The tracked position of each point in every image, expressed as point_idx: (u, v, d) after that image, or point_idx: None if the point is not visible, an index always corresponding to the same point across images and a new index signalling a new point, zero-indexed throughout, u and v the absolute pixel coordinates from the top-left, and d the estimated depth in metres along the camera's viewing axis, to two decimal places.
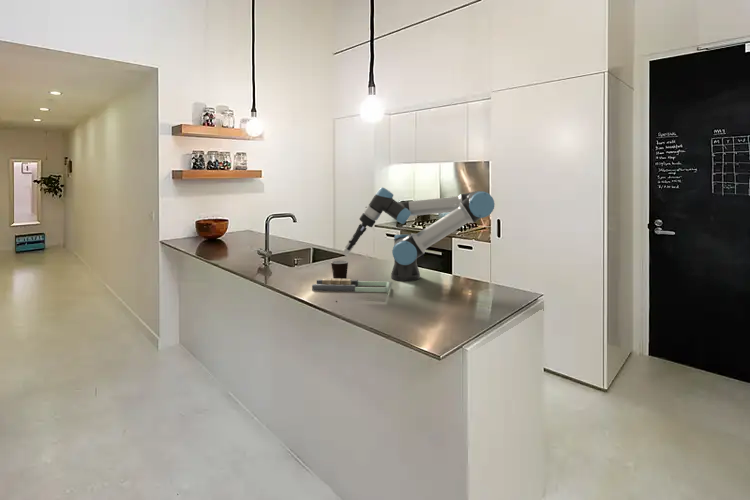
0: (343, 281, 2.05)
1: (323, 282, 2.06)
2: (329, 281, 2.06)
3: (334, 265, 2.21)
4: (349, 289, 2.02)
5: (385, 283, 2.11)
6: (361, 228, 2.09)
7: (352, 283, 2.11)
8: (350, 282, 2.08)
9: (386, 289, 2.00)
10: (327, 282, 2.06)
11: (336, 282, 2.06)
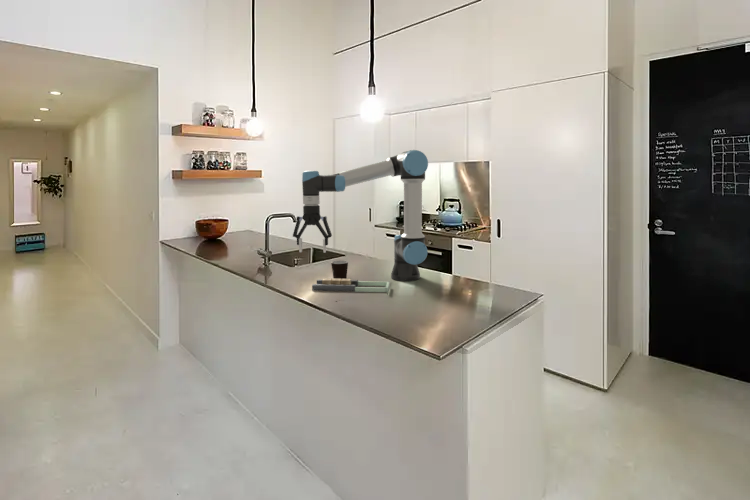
0: (343, 281, 2.05)
1: (323, 282, 2.06)
2: (329, 281, 2.06)
3: (334, 265, 2.21)
4: (349, 289, 2.02)
5: (385, 283, 2.11)
6: (326, 219, 2.03)
7: (352, 283, 2.11)
8: (350, 282, 2.08)
9: (386, 289, 2.00)
10: (327, 282, 2.06)
11: (336, 282, 2.06)
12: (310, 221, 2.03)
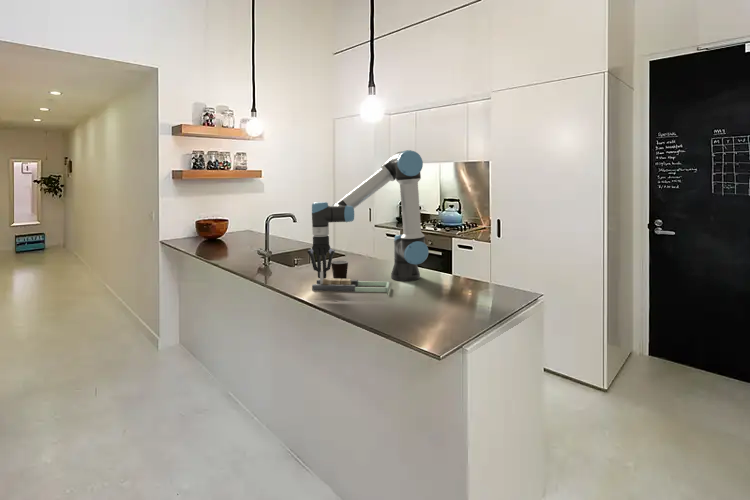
0: (343, 281, 2.05)
1: (324, 282, 2.06)
2: (330, 281, 2.06)
3: (334, 265, 2.21)
4: (349, 289, 2.02)
5: (385, 283, 2.11)
6: (333, 253, 2.05)
7: (352, 283, 2.11)
8: (350, 282, 2.08)
9: (386, 289, 2.00)
10: (328, 282, 2.06)
11: (336, 282, 2.06)
12: (320, 251, 2.05)
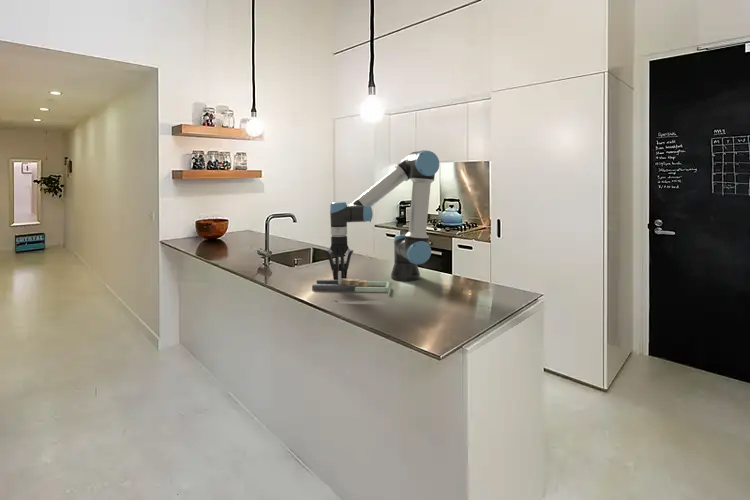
0: (360, 282, 2.05)
1: (342, 282, 2.05)
2: (348, 281, 2.05)
3: None
4: (349, 289, 2.02)
5: (385, 283, 2.11)
6: (351, 253, 2.04)
7: None
8: (367, 283, 2.07)
9: (386, 289, 2.00)
10: (346, 282, 2.05)
11: (354, 282, 2.05)
12: (338, 251, 2.04)
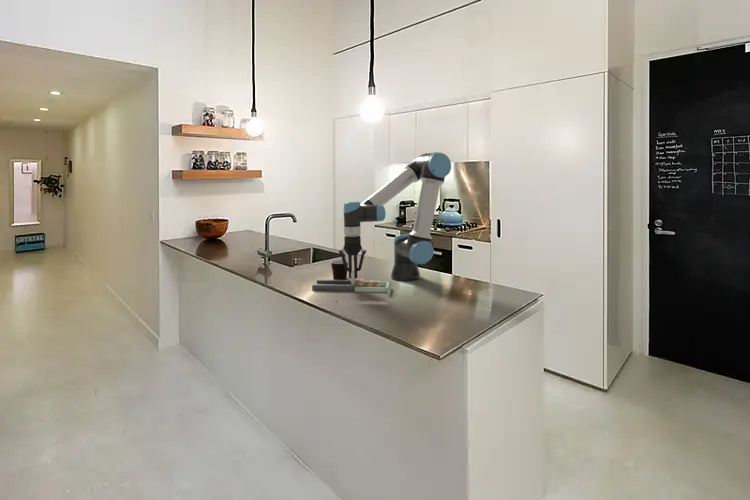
0: (373, 283, 2.04)
1: (355, 283, 2.05)
2: (361, 282, 2.04)
3: (334, 265, 2.21)
4: (349, 289, 2.02)
5: (385, 283, 2.11)
6: None
7: None
8: (380, 284, 2.06)
9: (386, 289, 2.00)
10: (359, 283, 2.04)
11: (367, 284, 2.04)
12: (351, 251, 2.03)
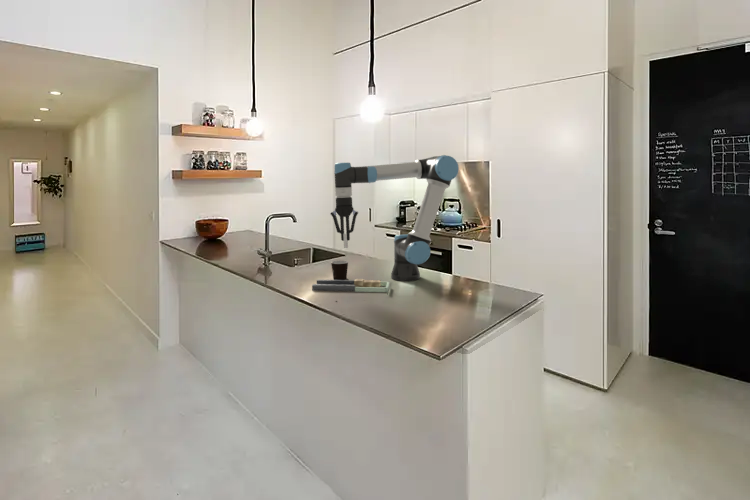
0: (373, 283, 2.04)
1: (355, 283, 2.05)
2: (361, 282, 2.04)
3: (334, 265, 2.21)
4: (349, 289, 2.02)
5: (385, 283, 2.11)
6: None
7: (352, 283, 2.11)
8: (380, 284, 2.06)
9: (386, 289, 2.00)
10: (359, 283, 2.04)
11: (367, 284, 2.04)
12: (343, 213, 2.03)
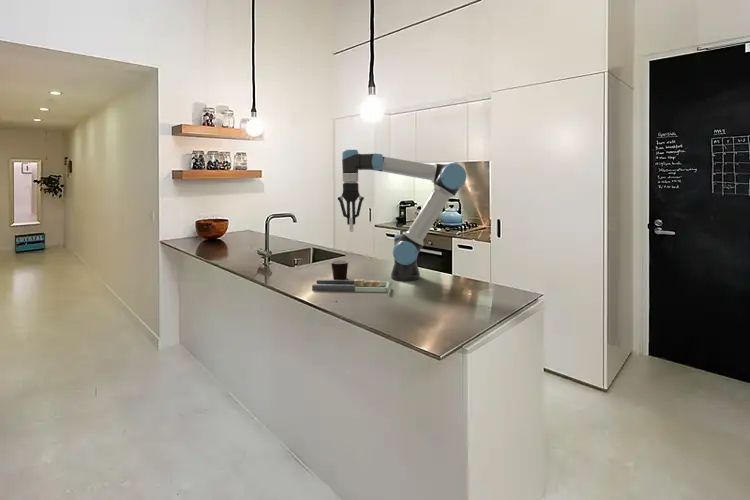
0: (373, 283, 2.04)
1: (355, 283, 2.05)
2: (361, 282, 2.04)
3: (334, 265, 2.21)
4: (349, 289, 2.02)
5: (385, 283, 2.11)
6: (362, 200, 2.12)
7: (352, 283, 2.11)
8: (380, 284, 2.06)
9: (386, 289, 2.00)
10: (359, 283, 2.04)
11: (367, 284, 2.04)
12: (349, 198, 2.12)
